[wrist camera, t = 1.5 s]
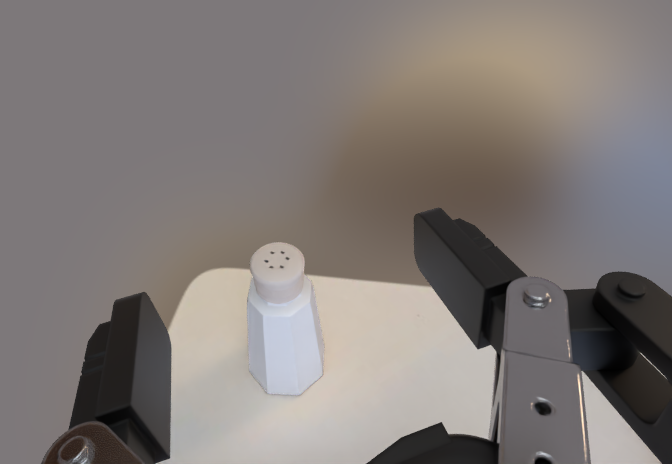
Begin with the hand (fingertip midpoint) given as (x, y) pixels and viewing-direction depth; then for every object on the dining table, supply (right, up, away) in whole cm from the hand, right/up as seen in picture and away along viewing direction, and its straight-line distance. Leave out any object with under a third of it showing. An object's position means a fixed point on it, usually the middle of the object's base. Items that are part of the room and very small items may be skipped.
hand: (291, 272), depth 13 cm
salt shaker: (-2, -8, +17) cm, 19 cm away
